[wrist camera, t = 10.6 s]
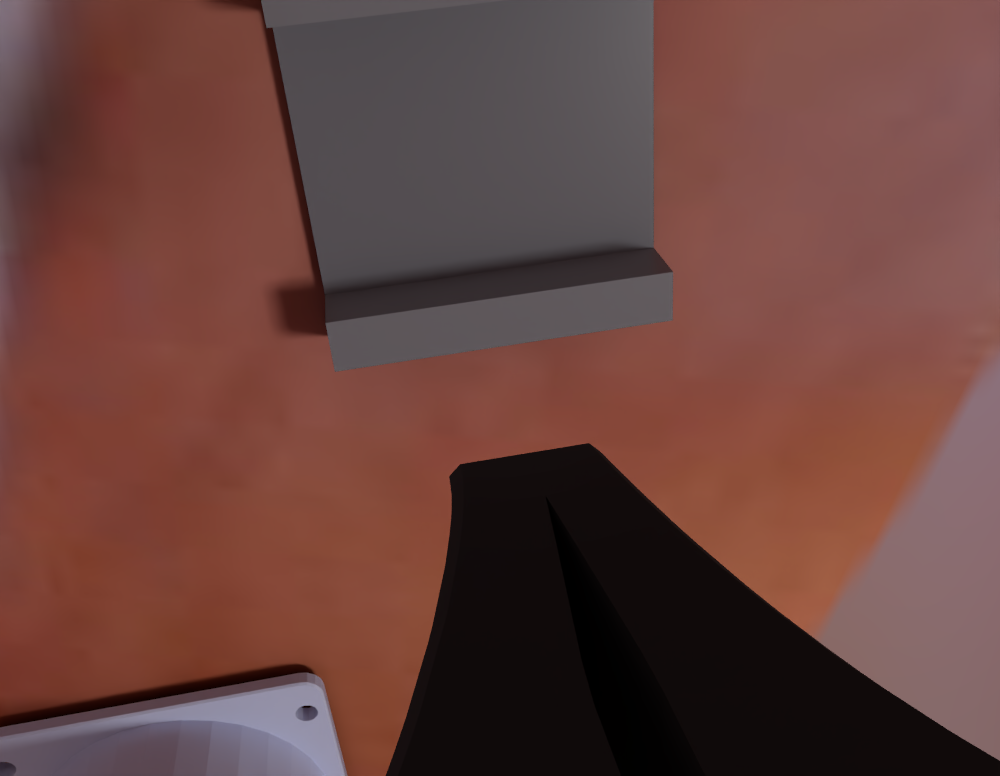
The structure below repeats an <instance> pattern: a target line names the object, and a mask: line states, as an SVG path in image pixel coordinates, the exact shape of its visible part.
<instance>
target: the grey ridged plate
mask: <svg viewBox="0 0 1000 776" xmlns="http://www.w3.org/2000/svg"><path fill="white" fill-rule="evenodd" d="M261 3H262V8H263V13H264V18H265V23H266V28H272V27H273V32H274V38H275V43H276V48H277V53H278V58H279V63H280V68H281V73H282V78H283V83H284V89H285V94H286V99H287V104H288V109H289V114H290V119H291V124H292V129H293V134H294V140H295V145H296V150H297V155H298V160H299V165H300V170H301V175H302V180H303V185H304V191H305V196H306V201H307V206H308V211H309V216H310V221H311V226H312V231H313V236H314V242H315V247H316V252H317V257H318V262H319V267H320V272H321V277H322V282H323V287H324V293H325V324H326V329H327V334H328V339H329V344H330V349H331V354H332V359H333V364H334V369H335V372H336V371H343V370H349V369H356V368H362V367H369V366H375V365H382V364H389V363H395V362H402V361H408V360H415V359H421V358H428V357H435V356H441V355H448V354H454V353H461V352H467V351H474V350H481V349H487V348H494V347H500V346H507V345H513V344H520V343H527V342H533V341H540V340H546V339H553V338H559V337H566V336H573V335H579V334H586V333H592V332H599V331H605V330H612V329H619V328H625V327H632V326H638V325H645V324H651V323H658V322H665V321H671V320H673V271H672V270H671V269H670V268H669V266H668V265H667V264H666V263H665V261H664V260H663V259H662V258H661V256H660V255H659V254H658V253H657V251H656V250H655V249H654V158H653V0H261Z"/></svg>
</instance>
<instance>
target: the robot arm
mask: <svg viewBox="0 0 1000 776" xmlns="http://www.w3.org/2000/svg"><path fill="white" fill-rule="evenodd" d="M449 477H450V485H451V492H452V515H451V527H450V536H449V543H448V551H447V558H446V564H445V570H444V574H443V579H442V584H441V588H440V593H439V598H438V603H437V607H436V612H435V617H434V622H433V626H432V630H431V634H430V638H429V642H428V645H427V649H426V652H425V655H424V659H423V662H422V666H421V669H420V672H419V676H418V679H417V683H416V686H415V689H414V693H413V696H412V700H411V703H410V706H409V710H408V713H407V716H406V719H405V722H404V726H403V729H402V731H401V734H400V737H399V740H398V743H397V746H396V749H395V752H394V755H393V757H392V760H391V763H390V766H389V768H388V771H387V774H386V776H1000V761H999V760H997V759H996V758H994V757H992V756H991V755H989V754H987V753H986V752H984V751H982V750H981V749H979V748H977V747H975V746H974V745H972V744H970V743H969V742H967V741H965V740H964V739H962V738H960V737H959V736H957V735H955V734H954V733H952V732H951V731H949V730H947V729H946V728H944V727H943V726H941V725H940V724H938V723H937V722H935V721H933V720H932V719H930V718H929V717H927V716H925V715H924V714H923V713H921V712H920V711H918V710H917V709H914V708H913V707H912V706H910V705H909V704H907V703H906V702H904V701H903V700H901V699H900V698H898V697H896V696H895V695H893V694H892V693H890V692H889V691H887V690H886V689H884V688H883V687H881V686H880V685H878V684H877V683H875V682H874V681H873V680H871V679H870V678H868V677H867V676H865V675H864V674H862V673H861V672H860V671H858V670H857V669H855V668H854V667H852V666H851V665H850V664H848V663H847V662H845V661H844V660H843V659H841V658H840V657H839V656H837V655H836V654H834V653H833V652H831V651H830V650H829V649H827V648H826V647H825V646H823V645H822V644H821V643H819V642H818V641H817V640H816V639H814V638H813V637H812V636H810V635H809V634H808V633H806V632H805V631H804V630H802V629H801V628H800V627H798V626H797V625H796V624H794V623H793V622H792V621H790V620H789V619H788V618H786V617H785V616H784V615H783V614H781V613H780V612H779V611H777V610H776V609H775V608H774V607H772V606H771V605H770V604H769V603H767V602H766V601H765V600H764V599H762V598H761V597H760V596H759V595H757V594H756V593H755V592H754V591H752V590H751V589H750V588H749V587H747V586H746V585H745V584H744V583H743V582H742V581H740V580H739V579H738V578H737V577H736V576H734V575H733V574H732V573H731V572H730V571H729V570H727V569H726V568H725V567H724V566H723V565H722V564H720V563H719V562H718V561H717V560H716V559H715V558H713V557H712V556H711V555H710V554H709V553H707V552H706V551H705V550H704V549H703V548H702V547H700V546H699V545H698V544H697V543H696V542H695V541H694V540H692V539H691V538H690V537H689V536H688V535H687V534H686V533H685V532H683V531H682V530H681V529H680V528H679V527H678V526H677V525H676V524H675V523H674V522H672V521H671V520H670V519H669V518H668V517H667V516H666V515H665V514H664V513H663V512H662V511H661V510H660V509H658V508H657V507H656V506H655V505H654V504H653V503H652V502H651V501H650V500H649V499H648V498H647V497H646V496H645V495H644V494H643V493H642V492H641V491H639V490H638V489H637V488H636V487H635V486H634V485H633V484H632V483H631V482H630V481H629V480H628V479H627V478H626V477H625V476H624V475H623V474H622V473H621V472H620V471H619V470H618V469H617V468H616V467H615V466H614V465H613V464H612V463H611V462H610V461H609V460H608V459H607V458H606V457H605V456H604V455H603V454H602V453H601V452H600V451H599V450H597V449H596V448H595V447H593V446H592V445H591V444H589V443H587V444H581V445H575V446H569V447H563V448H557V449H551V450H545V451H539V452H532V453H526V454H520V455H514V456H508V457H502V458H496V459H490V460H484V461H477V462H471V463H465V464H460V465H459V466H458V467H457V469H456V470H455V471H454V472H453V473H452V474H451V475H450V476H449ZM302 706H313V707H310V708H302ZM5 762H8V763H5ZM0 776H347V772H346V768H345V764H344V760H343V757H342V753H341V749H340V745H339V741H338V737H337V733H336V729H335V725H334V721H333V718H332V714H331V710H330V706H329V702H328V698H327V694H326V690H325V686H324V683H323V681H322V680H321V678H319V677H318V676H316V675H315V674H311V673H296V674H290V675H285V676H279V677H274V678H268V679H263V680H257V681H252V682H246V683H241V684H235V685H230V686H225V687H219V688H214V689H208V690H203V691H197V692H192V693H186V694H181V695H175V696H170V697H164V698H159V699H153V700H148V701H142V702H137V703H131V704H126V705H120V706H115V707H109V708H104V709H98V710H93V711H87V712H82V713H76V714H71V715H65V716H60V717H54V718H49V719H43V720H38V721H32V722H27V723H21V724H16V725H10V726H5V727H0Z"/></svg>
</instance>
